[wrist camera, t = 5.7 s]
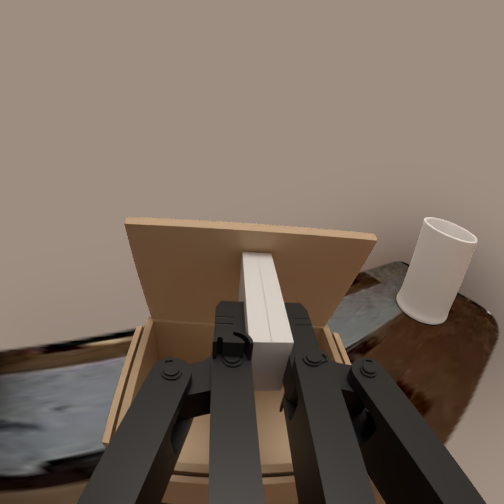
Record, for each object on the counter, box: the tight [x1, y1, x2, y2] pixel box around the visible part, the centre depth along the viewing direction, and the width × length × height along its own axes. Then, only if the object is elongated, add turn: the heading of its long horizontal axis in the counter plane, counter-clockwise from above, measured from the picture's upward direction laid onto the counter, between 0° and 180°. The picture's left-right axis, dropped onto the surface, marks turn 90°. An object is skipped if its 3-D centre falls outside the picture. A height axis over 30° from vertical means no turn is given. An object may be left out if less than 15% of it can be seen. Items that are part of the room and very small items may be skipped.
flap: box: [125, 217, 377, 326], centre depth 18 cm, size 13×1×10 cm, turn 94°
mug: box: [396, 217, 477, 325], centre depth 34 cm, size 12×8×12 cm
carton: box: [102, 317, 351, 504], centre depth 18 cm, size 15×13×6 cm
